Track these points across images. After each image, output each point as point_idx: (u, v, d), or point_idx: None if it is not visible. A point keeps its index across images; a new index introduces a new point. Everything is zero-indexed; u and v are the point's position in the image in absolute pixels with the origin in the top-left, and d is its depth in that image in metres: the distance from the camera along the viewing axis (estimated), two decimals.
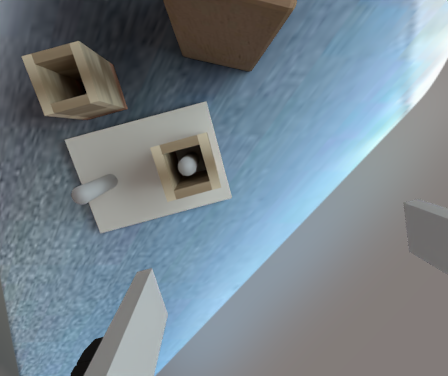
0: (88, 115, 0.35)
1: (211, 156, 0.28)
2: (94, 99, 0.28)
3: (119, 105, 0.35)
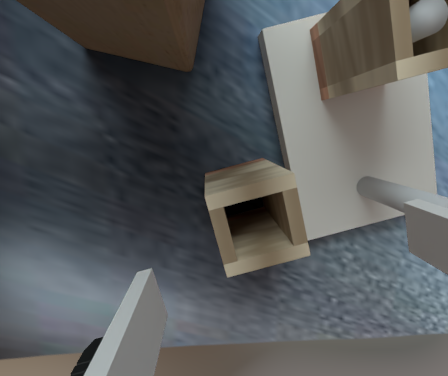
0: None
1: None
2: (291, 180, 0.18)
3: (268, 162, 0.24)
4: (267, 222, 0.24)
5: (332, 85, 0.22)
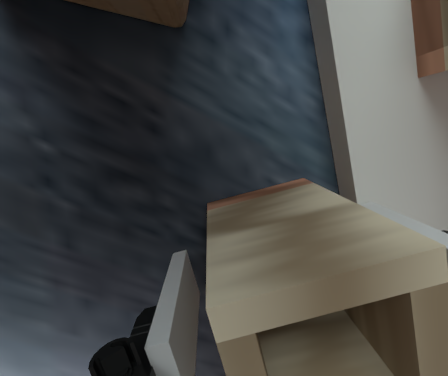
0: None
1: None
2: (436, 265, 0.07)
3: (324, 190, 0.13)
4: None
5: None
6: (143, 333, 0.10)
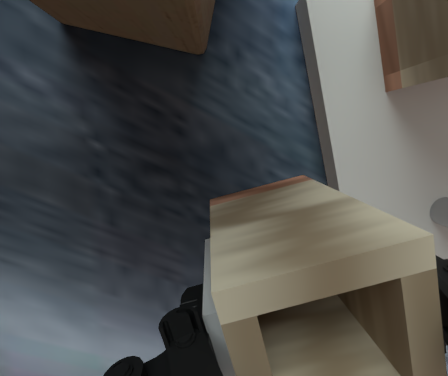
0: None
1: None
2: (424, 252, 0.07)
3: (323, 186, 0.13)
4: None
5: (411, 67, 0.15)
6: None
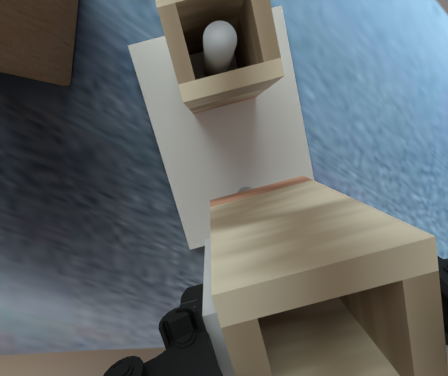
0: None
1: None
2: (426, 255, 0.07)
3: (323, 187, 0.13)
4: None
5: None
6: None
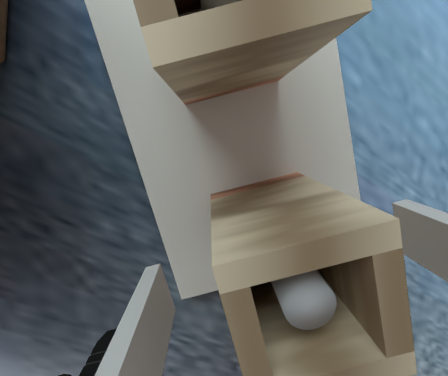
0: None
1: None
2: (392, 234, 0.08)
3: (314, 181, 0.15)
4: None
5: None
6: (99, 361, 0.09)
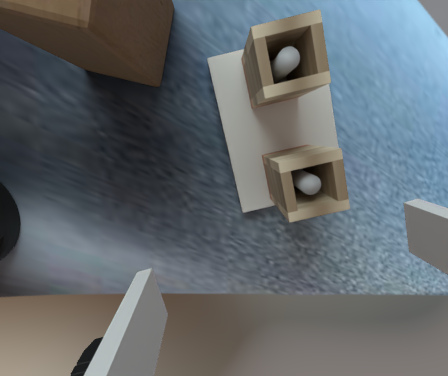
0: None
1: (280, 21, 0.23)
2: (339, 153, 0.25)
3: (314, 145, 0.32)
4: None
5: (252, 98, 0.31)
6: (85, 372, 0.09)
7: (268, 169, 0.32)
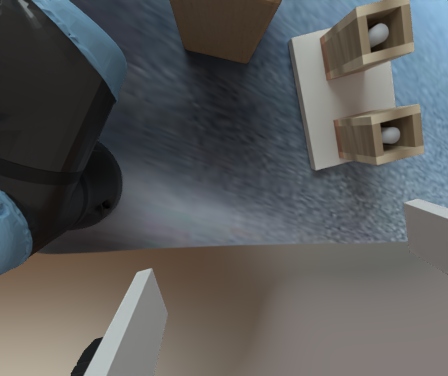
0: None
1: (378, 2, 0.30)
2: (417, 108, 0.32)
3: (383, 109, 0.39)
4: (383, 146, 0.38)
5: (332, 70, 0.38)
6: (85, 372, 0.09)
7: (345, 129, 0.39)
